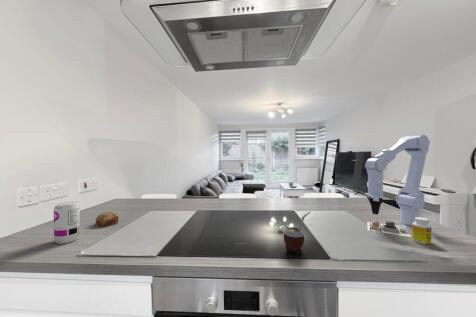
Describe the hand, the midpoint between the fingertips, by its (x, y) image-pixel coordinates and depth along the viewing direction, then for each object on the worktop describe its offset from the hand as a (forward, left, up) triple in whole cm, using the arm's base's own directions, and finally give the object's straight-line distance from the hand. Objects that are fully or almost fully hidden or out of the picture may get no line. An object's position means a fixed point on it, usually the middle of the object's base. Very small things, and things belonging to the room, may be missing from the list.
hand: (375, 214), depth 97 cm
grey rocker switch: (+1, +10, -5) cm, 11 cm away
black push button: (+2, +5, -5) cm, 7 cm away
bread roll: (+58, -117, -8) cm, 130 cm away
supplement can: (+78, -109, -8) cm, 134 cm away
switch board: (0, +4, -8) cm, 9 cm away
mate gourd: (+41, -26, -8) cm, 49 cm away
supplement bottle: (+10, +14, -8) cm, 19 cm away
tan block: (+3, 0, -6) cm, 7 cm away
